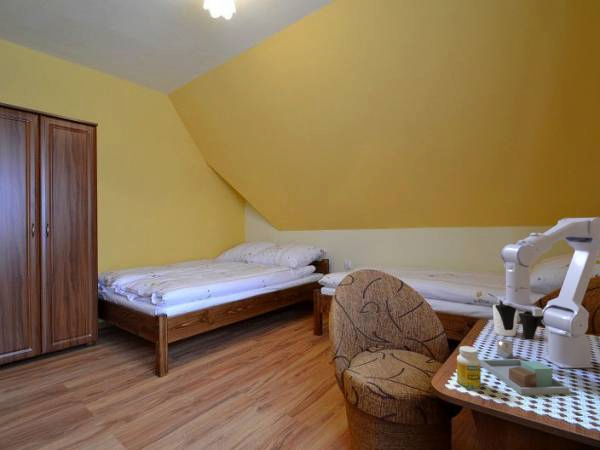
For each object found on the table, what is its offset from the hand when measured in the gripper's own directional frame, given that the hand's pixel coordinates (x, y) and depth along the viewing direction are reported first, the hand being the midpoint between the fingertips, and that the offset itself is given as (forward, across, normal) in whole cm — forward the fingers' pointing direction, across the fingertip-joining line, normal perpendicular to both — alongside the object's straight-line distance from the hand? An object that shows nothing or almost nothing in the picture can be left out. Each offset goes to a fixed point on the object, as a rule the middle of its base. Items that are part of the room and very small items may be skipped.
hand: (518, 334), depth 89 cm
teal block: (+9, +9, -2) cm, 13 cm away
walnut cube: (+9, +11, -7) cm, 16 cm away
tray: (+10, +6, -4) cm, 12 cm away
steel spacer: (+10, -7, +1) cm, 12 cm away
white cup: (+10, -28, +17) cm, 34 cm away
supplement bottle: (+10, +8, -20) cm, 24 cm away
